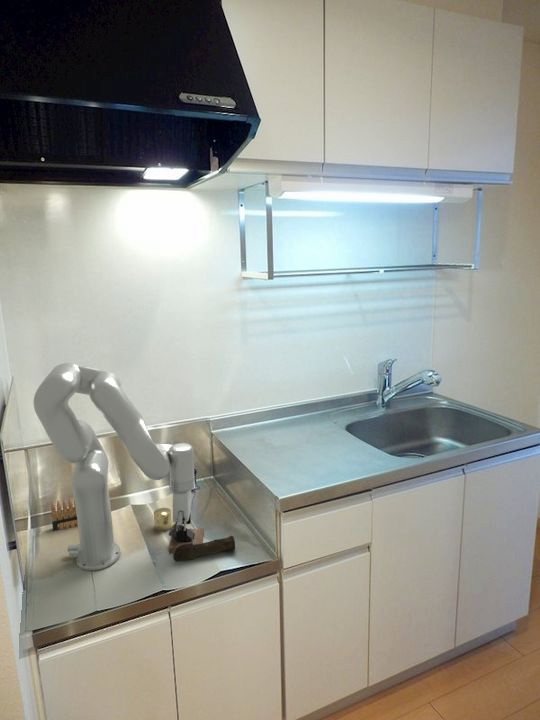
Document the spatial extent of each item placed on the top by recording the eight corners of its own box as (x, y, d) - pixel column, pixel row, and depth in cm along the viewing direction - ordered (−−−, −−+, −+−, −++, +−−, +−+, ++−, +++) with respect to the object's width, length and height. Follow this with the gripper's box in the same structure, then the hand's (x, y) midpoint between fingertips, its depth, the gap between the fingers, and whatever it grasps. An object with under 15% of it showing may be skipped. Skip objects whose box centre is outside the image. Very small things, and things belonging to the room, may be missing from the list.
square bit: (186, 546, 145) (168, 534, 144) (187, 540, 148) (170, 528, 147) (192, 539, 144) (174, 527, 143) (193, 532, 148) (176, 521, 146)
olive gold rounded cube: (153, 534, 152) (152, 517, 150) (156, 524, 157) (155, 508, 156) (170, 533, 152) (169, 516, 151) (173, 524, 158) (171, 507, 156)
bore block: (168, 554, 141) (168, 548, 141) (173, 535, 151) (173, 529, 151) (201, 552, 142) (200, 546, 141) (203, 533, 152) (203, 528, 151)
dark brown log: (233, 544, 145) (232, 531, 144) (236, 551, 141) (235, 538, 140) (173, 556, 140) (172, 542, 139) (174, 564, 136) (173, 550, 135)
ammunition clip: (87, 525, 158) (83, 493, 155) (87, 528, 156) (83, 496, 154) (53, 532, 154) (49, 500, 151) (53, 535, 152) (48, 503, 150)
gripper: (174, 470, 150) (175, 517, 154) (165, 497, 133) (167, 549, 137) (197, 470, 151) (198, 517, 154) (191, 496, 134) (192, 548, 137)
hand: (183, 532), depth 145 cm, fingers open, 9 cm apart
